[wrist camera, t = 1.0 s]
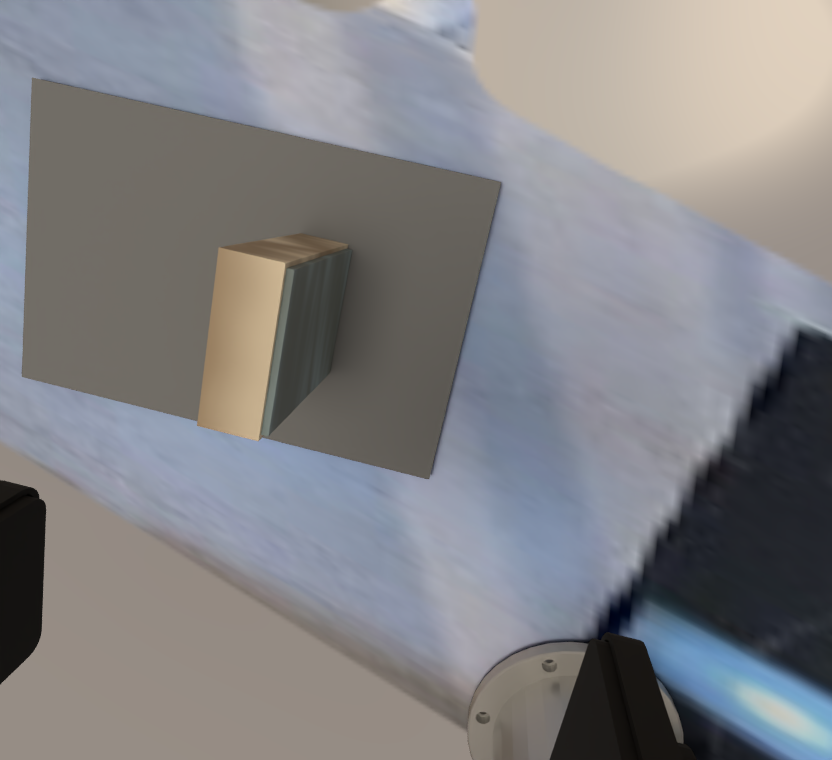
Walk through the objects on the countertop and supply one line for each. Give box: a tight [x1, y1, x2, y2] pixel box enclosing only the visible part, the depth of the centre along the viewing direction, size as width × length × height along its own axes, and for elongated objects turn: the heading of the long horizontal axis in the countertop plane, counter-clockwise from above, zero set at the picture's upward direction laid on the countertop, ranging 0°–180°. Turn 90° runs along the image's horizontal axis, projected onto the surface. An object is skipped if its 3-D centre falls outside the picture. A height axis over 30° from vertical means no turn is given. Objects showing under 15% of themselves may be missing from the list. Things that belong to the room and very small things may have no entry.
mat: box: [22, 78, 501, 479], centre depth 34 cm, size 24×16×1 cm, turn 78°
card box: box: [197, 233, 352, 441], centre depth 29 cm, size 3×7×10 cm, turn 168°
